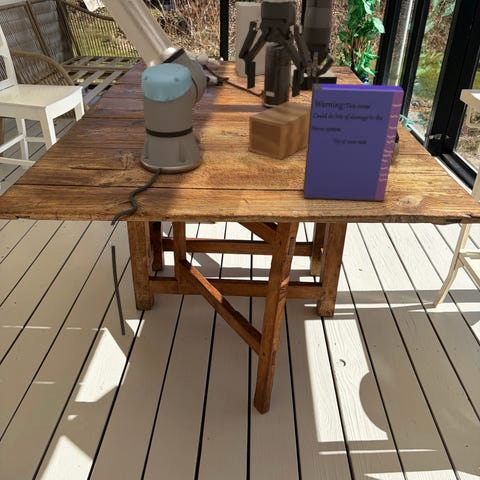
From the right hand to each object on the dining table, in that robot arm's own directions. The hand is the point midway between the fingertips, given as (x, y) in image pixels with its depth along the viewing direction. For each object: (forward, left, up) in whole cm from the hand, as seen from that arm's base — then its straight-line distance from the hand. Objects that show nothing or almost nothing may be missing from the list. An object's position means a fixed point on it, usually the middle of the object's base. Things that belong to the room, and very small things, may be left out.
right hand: (311, 89), depth 139 cm
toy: (-92, -46, -13) cm, 104 cm away
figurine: (-58, -41, -13) cm, 72 cm away
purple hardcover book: (+44, +3, -13) cm, 46 cm away
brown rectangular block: (+12, -8, -13) cm, 19 cm away
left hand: (+16, -12, +3) cm, 21 cm away
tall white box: (-84, -16, -13) cm, 87 cm away
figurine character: (+18, +18, -13) cm, 29 cm away
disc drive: (-64, +8, -13) cm, 66 cm away
